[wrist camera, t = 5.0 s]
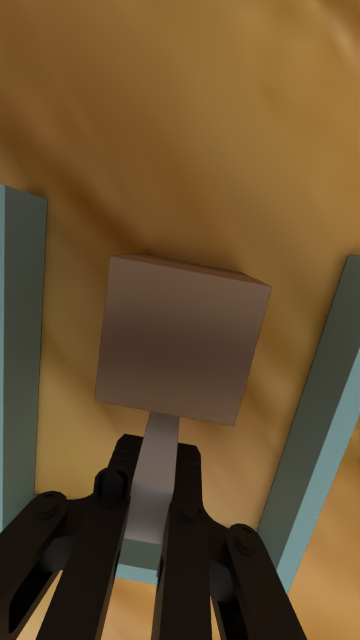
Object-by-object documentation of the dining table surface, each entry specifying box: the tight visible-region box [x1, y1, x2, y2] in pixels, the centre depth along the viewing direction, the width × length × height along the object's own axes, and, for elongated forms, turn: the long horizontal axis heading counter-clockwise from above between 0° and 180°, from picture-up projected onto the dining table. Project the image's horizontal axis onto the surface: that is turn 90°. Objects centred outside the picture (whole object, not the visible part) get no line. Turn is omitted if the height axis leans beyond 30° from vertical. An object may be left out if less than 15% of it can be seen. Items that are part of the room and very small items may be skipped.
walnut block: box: [94, 254, 272, 426], centre depth 14 cm, size 6×6×6 cm
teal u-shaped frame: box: [0, 184, 360, 595], centre depth 16 cm, size 22×19×4 cm
